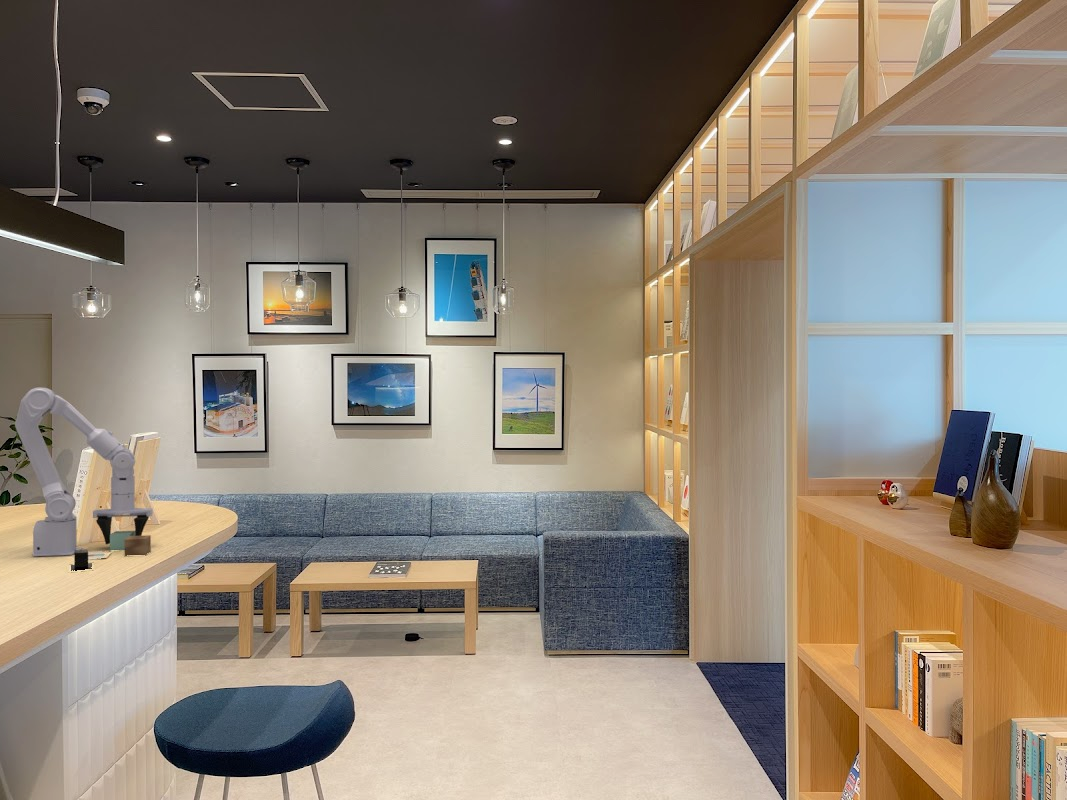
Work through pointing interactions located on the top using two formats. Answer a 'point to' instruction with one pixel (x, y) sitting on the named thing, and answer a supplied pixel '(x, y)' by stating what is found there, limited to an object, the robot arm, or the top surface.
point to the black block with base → (81, 560)
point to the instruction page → (96, 555)
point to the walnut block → (137, 545)
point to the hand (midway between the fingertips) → (123, 543)
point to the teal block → (119, 539)
